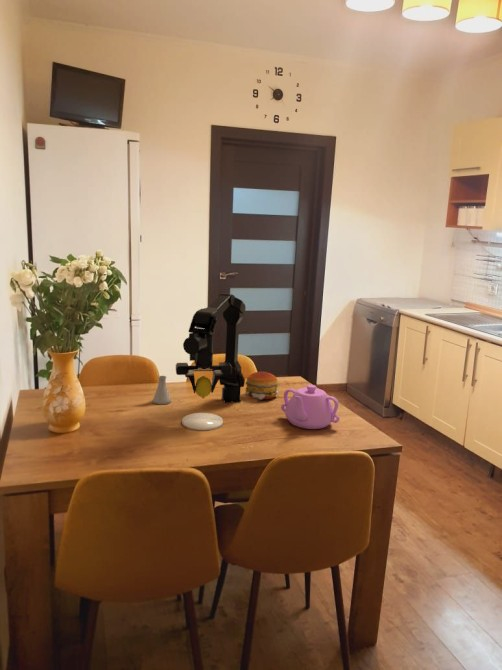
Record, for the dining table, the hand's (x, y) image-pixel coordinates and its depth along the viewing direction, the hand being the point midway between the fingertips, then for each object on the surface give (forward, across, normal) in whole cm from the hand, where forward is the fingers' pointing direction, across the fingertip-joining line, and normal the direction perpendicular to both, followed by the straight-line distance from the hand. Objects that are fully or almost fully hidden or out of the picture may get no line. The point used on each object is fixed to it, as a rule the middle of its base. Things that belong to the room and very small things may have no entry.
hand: (203, 392), depth 180 cm
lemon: (+2, 0, 0) cm, 2 cm away
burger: (+11, -27, -27) cm, 40 cm away
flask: (+11, +13, -23) cm, 29 cm away
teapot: (+11, -36, +5) cm, 38 cm away
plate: (+11, 0, 0) cm, 11 cm away
